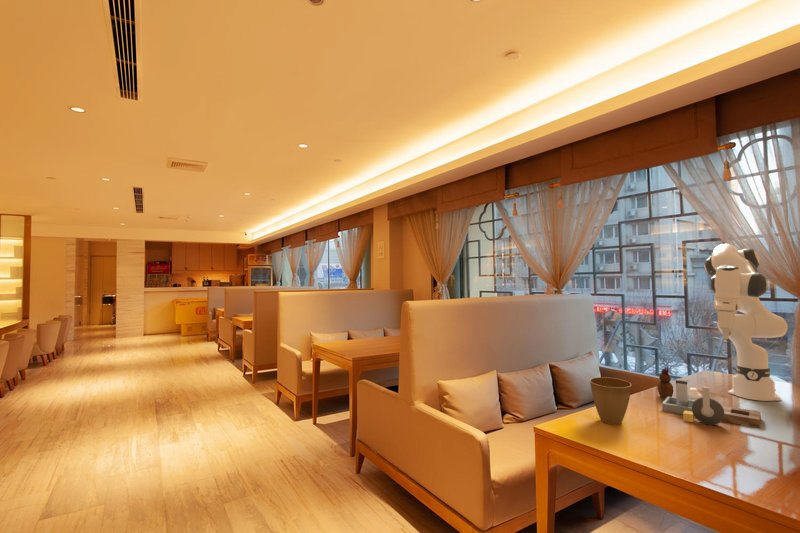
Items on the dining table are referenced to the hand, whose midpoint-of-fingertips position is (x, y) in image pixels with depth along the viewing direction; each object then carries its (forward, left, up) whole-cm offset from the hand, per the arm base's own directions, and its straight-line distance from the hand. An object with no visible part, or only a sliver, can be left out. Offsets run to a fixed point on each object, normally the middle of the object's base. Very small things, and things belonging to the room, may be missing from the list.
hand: (727, 337), depth 170 cm
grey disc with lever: (+21, -7, -32) cm, 39 cm away
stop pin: (+7, -15, -31) cm, 35 cm away
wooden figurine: (-9, -24, -32) cm, 41 cm away
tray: (+7, -15, -32) cm, 36 cm away
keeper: (+7, +4, -32) cm, 33 cm away
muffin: (-7, -13, -32) cm, 36 cm away
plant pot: (+42, -34, -32) cm, 63 cm away
